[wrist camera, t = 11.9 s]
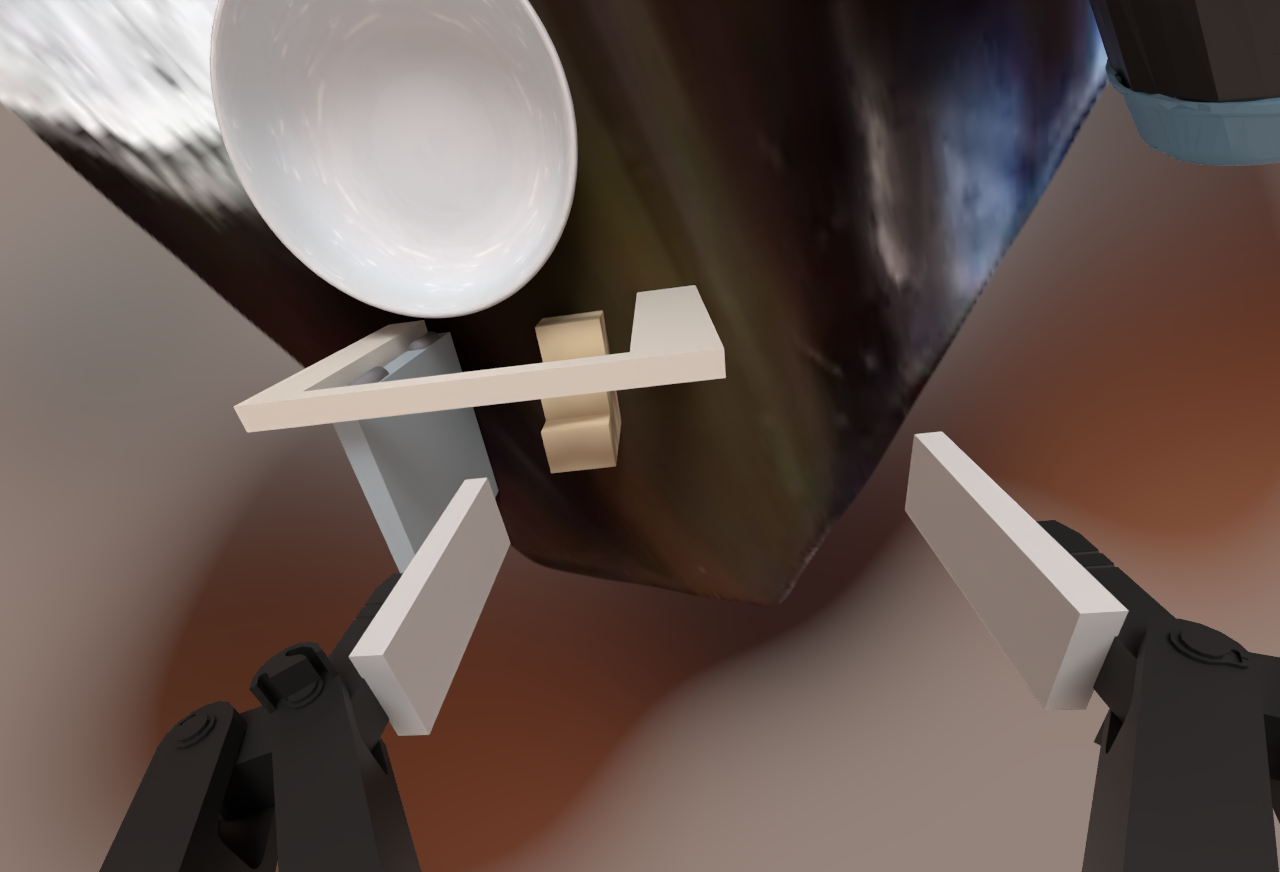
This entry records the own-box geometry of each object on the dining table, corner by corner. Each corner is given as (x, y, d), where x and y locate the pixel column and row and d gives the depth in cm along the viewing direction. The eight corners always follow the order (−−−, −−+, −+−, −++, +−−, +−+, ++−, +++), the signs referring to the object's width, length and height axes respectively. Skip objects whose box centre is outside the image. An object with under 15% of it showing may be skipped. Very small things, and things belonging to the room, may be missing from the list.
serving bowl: (468, 351, 42) (437, 379, 35) (234, 140, 35) (145, 130, 29) (650, 157, 35) (650, 151, 29) (403, -148, 28) (335, -241, 22)
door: (514, 489, 47) (461, 608, 34) (483, 492, 48) (418, 612, 34) (466, 322, 40) (374, 390, 27) (430, 326, 40) (320, 396, 27)
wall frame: (695, 285, 39) (723, 348, 24) (696, 304, 39) (725, 377, 24) (389, 324, 41) (233, 406, 25) (395, 342, 41) (247, 432, 26)
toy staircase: (542, 318, 40) (519, 346, 33) (602, 310, 40) (592, 337, 33) (567, 427, 45) (551, 473, 38) (621, 421, 44) (615, 466, 37)
